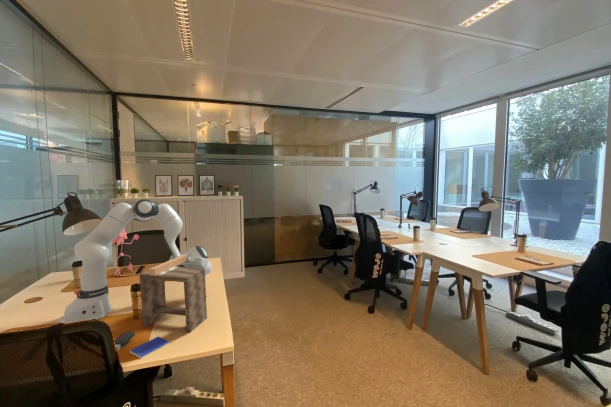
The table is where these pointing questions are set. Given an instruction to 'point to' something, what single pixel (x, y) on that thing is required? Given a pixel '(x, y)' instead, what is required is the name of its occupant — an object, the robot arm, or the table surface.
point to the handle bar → (167, 265)
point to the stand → (156, 300)
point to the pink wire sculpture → (120, 241)
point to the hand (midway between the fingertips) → (179, 257)
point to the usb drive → (123, 339)
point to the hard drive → (149, 347)
